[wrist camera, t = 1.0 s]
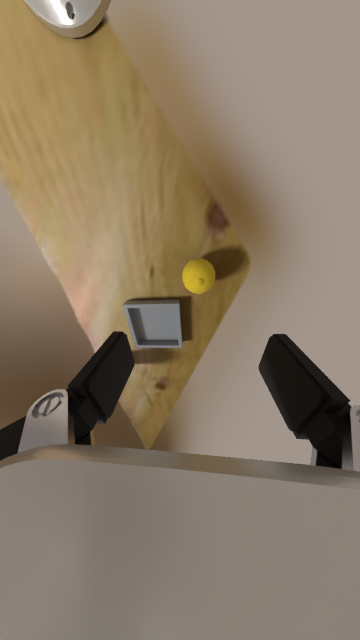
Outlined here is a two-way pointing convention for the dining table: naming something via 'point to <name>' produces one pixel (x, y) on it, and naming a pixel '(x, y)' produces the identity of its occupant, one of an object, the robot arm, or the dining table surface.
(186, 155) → the dining table surface
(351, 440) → the robot arm
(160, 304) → the tray
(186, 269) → the lemon
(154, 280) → the dining table surface
